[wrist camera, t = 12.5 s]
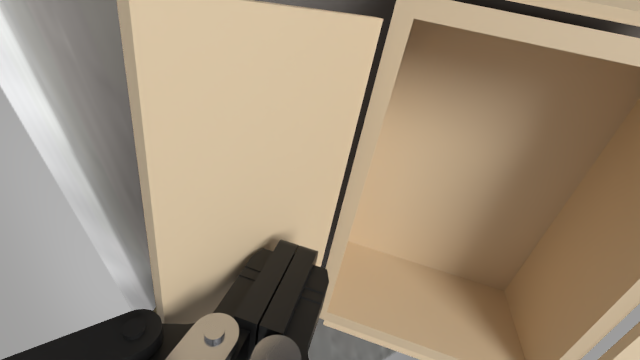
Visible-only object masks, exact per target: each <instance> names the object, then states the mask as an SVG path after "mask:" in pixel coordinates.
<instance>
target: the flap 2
mask: <svg viewBox="0 0 640 360" xmlns="http://www.w3.org/2000/svg"><path fill="white" fill-rule="evenodd" d="M598 360H640V322H639V323H638V324H637V325H635V326H634V327H633V328H632V329H631V330H630V331H629V332H628V333H627V334H625V335H624V336H623V337H622V338H621V339H620V340H619V341H618V342H617V343H616V344H615V345H613V346H612V347H611V348H610V349H609V350H608V351H607V352H606V353H605V354H603V355H602V356H601V357H600V358H599V359H598Z"/></svg>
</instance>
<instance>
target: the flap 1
mask: <svg viewBox="0 0 640 360" xmlns="http://www.w3.org/2000/svg"><path fill="white" fill-rule="evenodd" d="M117 7H118V15H119V22H120V30H121V38H122V46H123V54H124V61H125V69H126V77H127V85H128V93H129V100H130V108H131V116H132V124H133V132H134V139H135V147H136V155H137V163H138V171H139V178H140V186H141V194H142V202H143V210H144V217H145V225H146V233H147V241H148V249H149V257H150V264H151V272H152V280H153V288H154V296H155V303H156V311H157V314H158V315H159V316H160V318H161V321H162V323H167V324H191V323H195V322H197V321H198V320H199V319H200V318H202V317H204V316H206V315H208V314H212V313H213V312H214V310H215V309H216V308H217V306H218V305H219V303H220V302H221V301H222V299H223V298H224V296H225V295H226V293H227V292H228V290H229V289H230V287H231V286H232V284H233V283H234V281H235V280H236V279H237V277H239V274H240V273H241V271H242V270H243V268H245V265H246V264H247V262H248V261H249V259H250V258H251V256H252V255H254V254H255V253H257V252H258V251H260V250H261V249H263V248H264V249H267V250H270V251H274V249H275V247H276V246H277V244H278V242H279V241H280V240H281V239H282V240H285V241H288V242H291V243H294V244H297V245H299V246H303V247H307V248H310V249H313V250H316V251H318V257H317V261H316V266H319V267H321V264H322V260H323V256H324V252H325V248H326V244H327V240H328V236H329V232H330V228H331V224H332V220H333V216H334V212H335V209H336V205H337V201H338V197H339V193H340V189H341V185H342V181H343V177H344V173H345V169H346V165H347V161H348V157H349V153H350V149H351V145H352V141H353V137H354V133H355V129H356V125H357V121H358V117H359V114H360V110H361V106H362V102H363V98H364V94H365V90H366V86H367V82H368V78H369V74H370V70H371V66H372V62H373V58H374V54H375V50H376V46H377V42H378V38H379V34H380V30H381V26H382V22H383V19H382V18H378V17H373V16H365V15H358V14H351V13H343V12H336V11H328V10H321V9H314V8H306V7H299V6H292V5H284V4H277V3H269V2H262V1H255V0H117Z"/></svg>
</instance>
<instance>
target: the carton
mask: <svg viewBox="0 0 640 360" xmlns="http://www.w3.org/2000/svg"><path fill="white" fill-rule="evenodd" d="M507 1H512V2H517V3H522V4H527V5H533V6H538V7H543V8H548V9H553V10H558V11H563V12H568V13H573V14H578V15H583V16H588V17H593V18H598V19H603V20H608V21H613V22H619V23H624V24H629V25H634V26H639V27H640V0H507ZM326 269H327V271H328V277H329V284H328V288H327V292H326V295H325V299H324V303H323V307H322V310H321V313H320V316H319V318H321V319H324V323H323V325H326V326H329V327H331V328H334V329H337V330H340V331H342V332H345V333H348V334H351V335H353V336H356V337H359V338H362V339H365V340H367V341H370V342H373V343H376V344H378V345H381V346H384V347H387V348H389V349H392V350H395V351H398V352H400V353H403V354H406V355H409V356H411V357H414V358H417V359H420V360H581V359H582V358H583V357H584V356H585V355H586V354H587V353H588V352H589V351H590V350H591V349H592V348H593V347H594V346H595V345H596V344H597V343H599V341H601V340H602V339H603V338H604V337H605V336H606V335H607V334H608V333H609V332H610V331H611V330H612V329H613V328H614V327H615V326H616V325H617V324H619V323H620V322H621V321H622V320H623V319H624V318H625V317H626V316H627V315H628V314H629V313H630V312H631V311H632V310H633V309H634V308H635V307H636V306H637V305H639V303H640V38H635V37H630V36H625V35H620V34H616V33H611V32H606V31H601V30H596V29H591V28H586V27H581V26H576V25H571V24H566V23H561V22H556V21H551V20H546V19H541V18H536V17H531V16H527V15H522V14H517V13H512V12H507V11H502V10H497V9H492V8H487V7H482V6H477V5H472V4H467V3H462V2H457V1H452V0H396V4H395V7H394V11H393V15H392V19H391V23H390V26H389V30H388V34H387V38H386V41H385V45H384V49H383V53H382V57H381V60H380V64H379V68H378V72H377V76H376V79H375V83H374V87H373V91H372V94H371V98H370V102H369V106H368V110H367V113H366V117H365V121H364V125H363V129H362V132H361V136H360V140H359V144H358V147H357V151H356V155H355V159H354V163H353V166H352V170H351V174H350V178H349V182H348V185H347V189H346V193H345V197H344V200H343V204H342V208H341V212H340V216H339V219H338V223H337V227H336V231H335V235H334V238H333V242H332V246H331V250H330V253H329V257H328V261H327V265H326Z"/></svg>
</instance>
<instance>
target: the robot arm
mask: <svg viewBox="0 0 640 360" xmlns="http://www.w3.org/2000/svg"><path fill="white" fill-rule="evenodd" d="M317 257H318V251H316V250H313V249H310V248H307V247H303V246H299V245H297V244H294V243H291V242H288V241H285V240H282V239H281V240H280V241H279V242H278V244H277V246H276V247H275V249H274V251H270V250H267V249H264V248H263V249H261V250H260V251H258V252H257V253H255V254H254V255H252V256H251V258H250V259H249V261H248V262H247V264H246V265H245V268H243V270H242V271H241V273H240V274H239V277H237V279H236V280H235V281H234V283H233V284H232V286H231V287H230V289H229V290H228V292H227V293H226V295H225V296H224V298H223V299H222V301H221V302H220V303H219V305H218V306H217V308H216V309H215V310H214V312H213V313H212V314H208V315H206V316H204V317H202V318H200V319H199V320H198V321H197V322H195V323H191V324H167V323H162V321H161V318H160V316H159V315H158V314H157V313H155V312H154V311H151V310H147V309H139V310H134V311H131V312H128V313H125V314H122V315H120V316H117V317H115V318H112V319H109V320H107V321H104V322H101V323H98V324H96V325H93V326H90V327H88V328H85V329H82V330H80V331H77V332H74V333H72V334H69V335H66V336H63V337H61V338H58V339H56V340H53V341H50V342H48V343H45V344H42V345H39V346H37V347H34V348H31V349H29V350H26V351H23V352H21V353H18V354H15V355H13V356H10V357H7V358H5V359H2V360H309V358H308V350H309V347H310V344H311V341H312V338H313V335H314V331H315V329H316V325H317V322H318V319H319V316H320V313H321V310H322V307H323V303H324V299H325V295H326V292H327V288H328V284H329V277H328V271H327V269H325V268H322V267H319V266H316V261H317Z"/></svg>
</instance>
